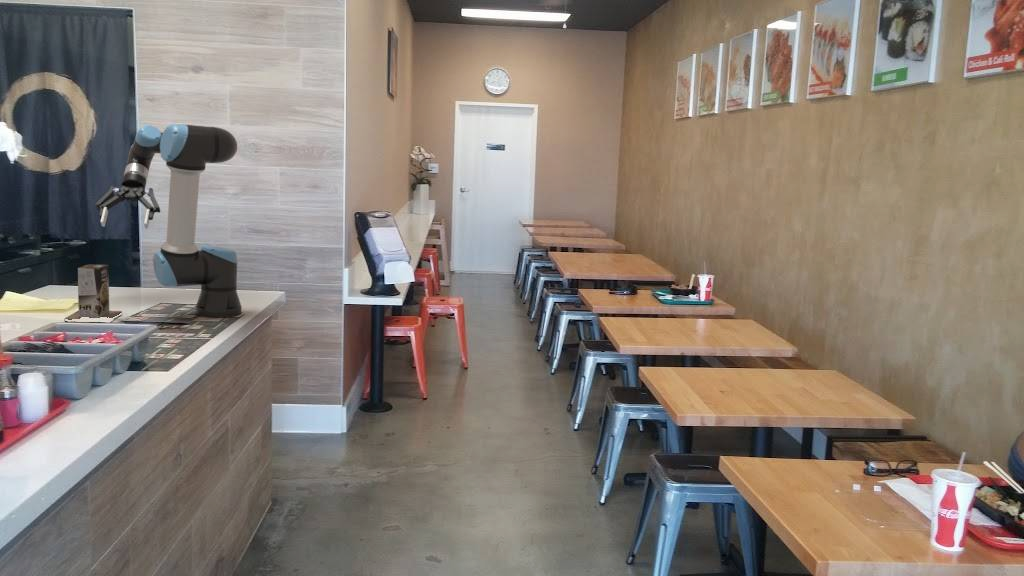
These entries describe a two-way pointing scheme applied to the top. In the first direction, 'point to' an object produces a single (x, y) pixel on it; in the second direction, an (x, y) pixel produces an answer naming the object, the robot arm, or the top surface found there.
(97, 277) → the coffee box
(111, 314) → the walnut board
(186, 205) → the robot arm
